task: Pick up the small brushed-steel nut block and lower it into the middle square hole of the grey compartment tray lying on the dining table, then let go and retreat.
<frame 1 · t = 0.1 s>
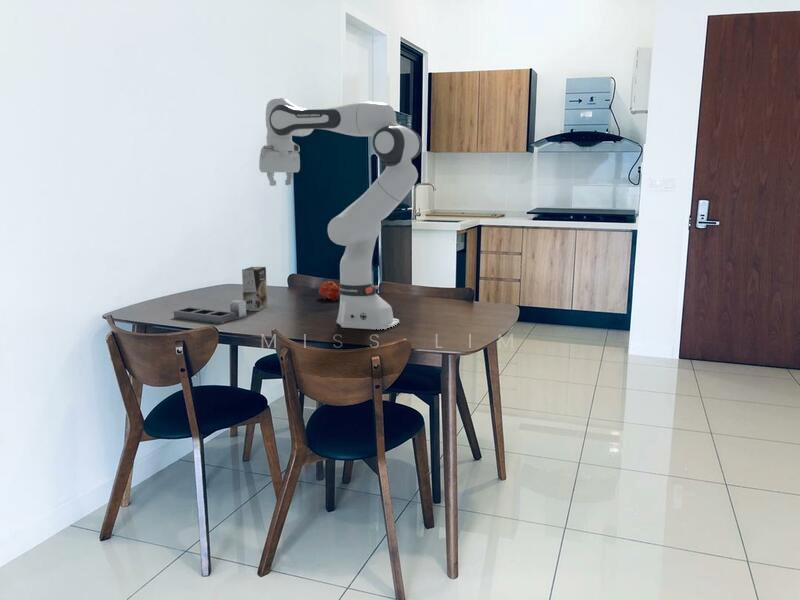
hand: (280, 185, 232), 48 cm above the table, tool pointing down, fingers open, 8 cm apart
grey compartment tray: (204, 318, 234), on the table
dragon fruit: (331, 299, 269), on the table
coffee box: (255, 309, 251), on the table
nut block: (238, 316, 237), on the table
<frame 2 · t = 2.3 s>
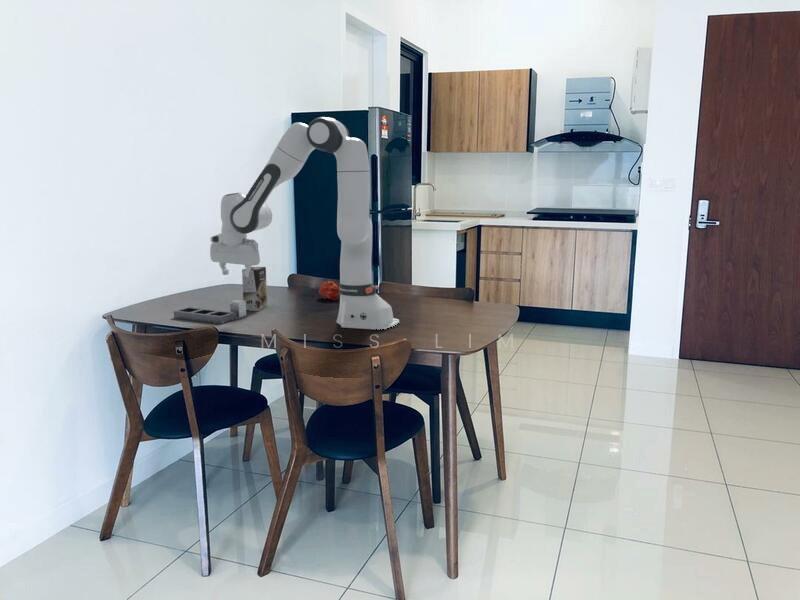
hand: (235, 275, 234), 15 cm above the table, tool pointing down, fingers open, 8 cm apart
nothing on the table moved.
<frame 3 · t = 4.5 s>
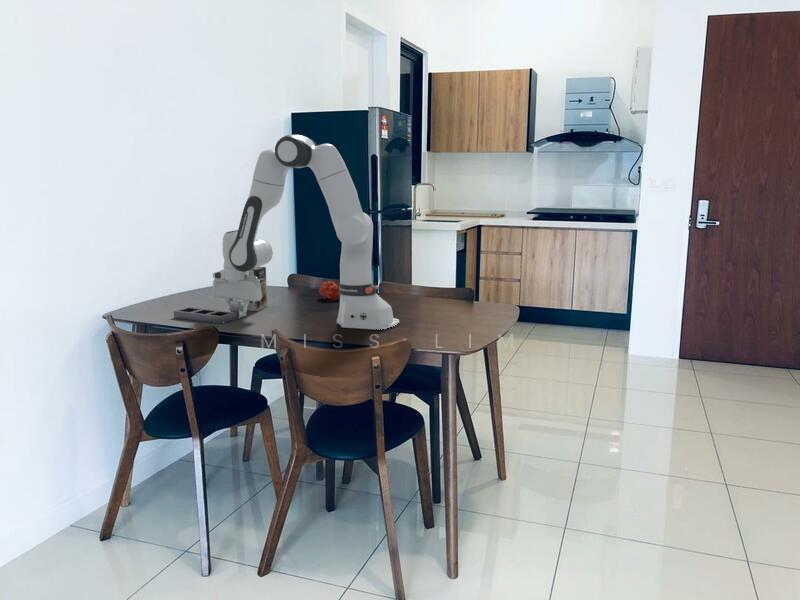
hand: (238, 310, 237), 2 cm above the table, tool pointing down, fingers closed on nut block, 4 cm apart
nut block: (238, 316, 237), on the table, touching gripper
everything else where it was.
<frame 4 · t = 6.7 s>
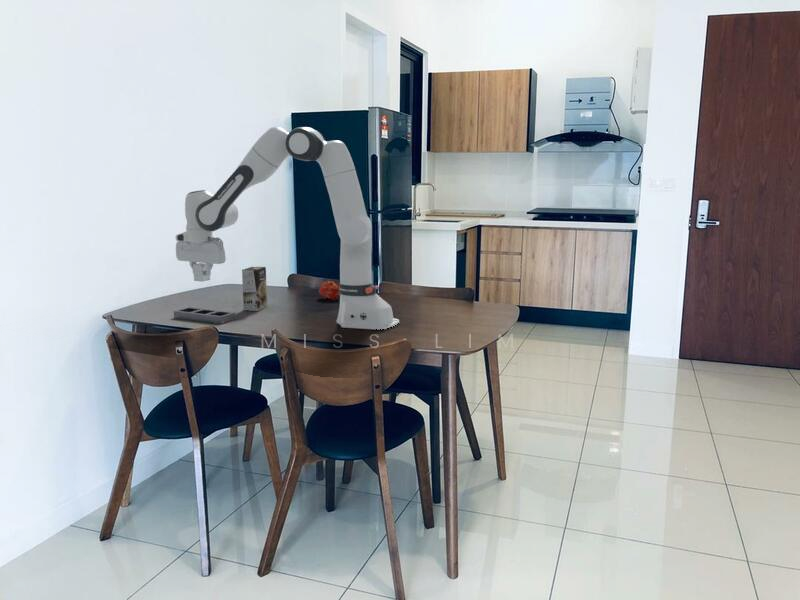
hand: (201, 274, 230), 16 cm above the table, tool pointing down, fingers closed on nut block, 4 cm apart
nut block: (202, 280, 231), point 14 cm above the table, touching gripper
everything else where it was.
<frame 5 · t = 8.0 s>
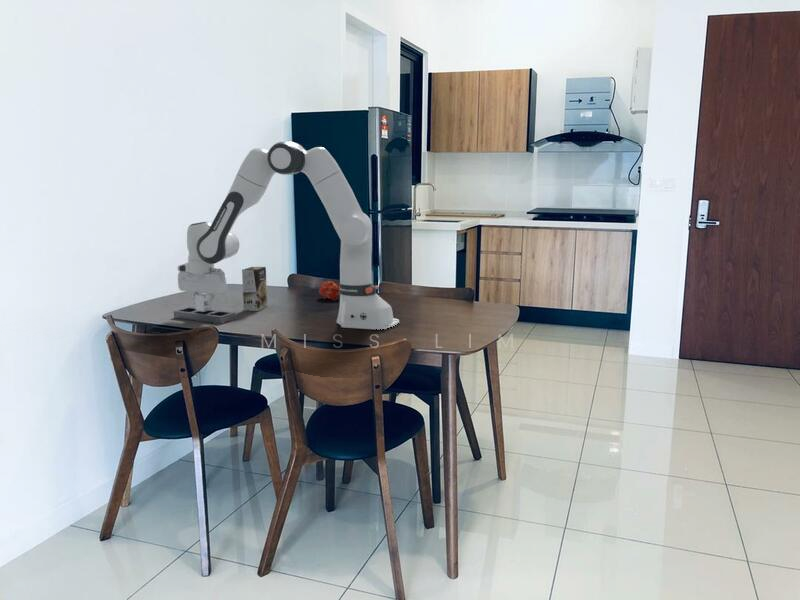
hand: (203, 304, 233), 5 cm above the table, tool pointing down, fingers closed on nut block, 4 cm apart
nut block: (204, 310, 233), point 3 cm above the table, touching gripper
everything else where it was.
when the fingers open (4 cm above the table, at t = 9.0 s): nut block drops 1 cm, resting in grey compartment tray.
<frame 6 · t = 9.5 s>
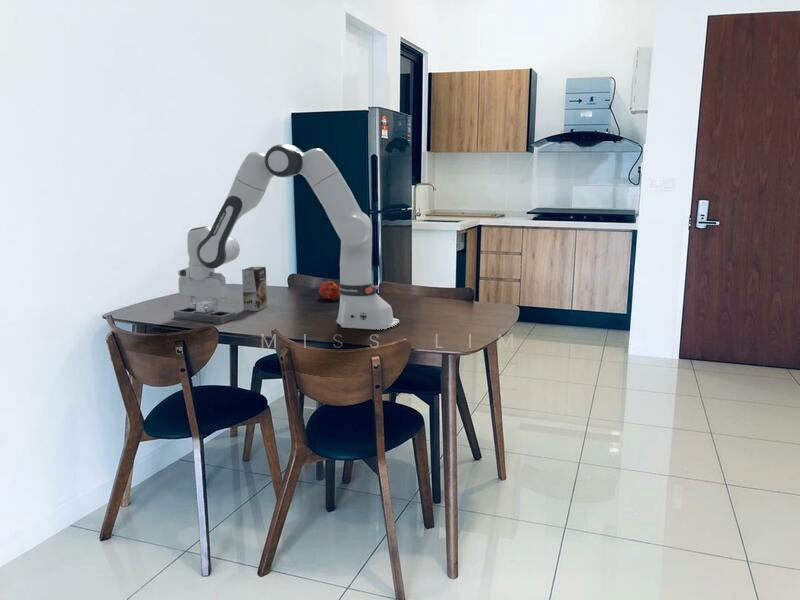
hand: (204, 309, 233), 4 cm above the table, tool pointing down, fingers open, 8 cm apart
nut block: (205, 318, 234), resting in grey compartment tray
everything else where it was.
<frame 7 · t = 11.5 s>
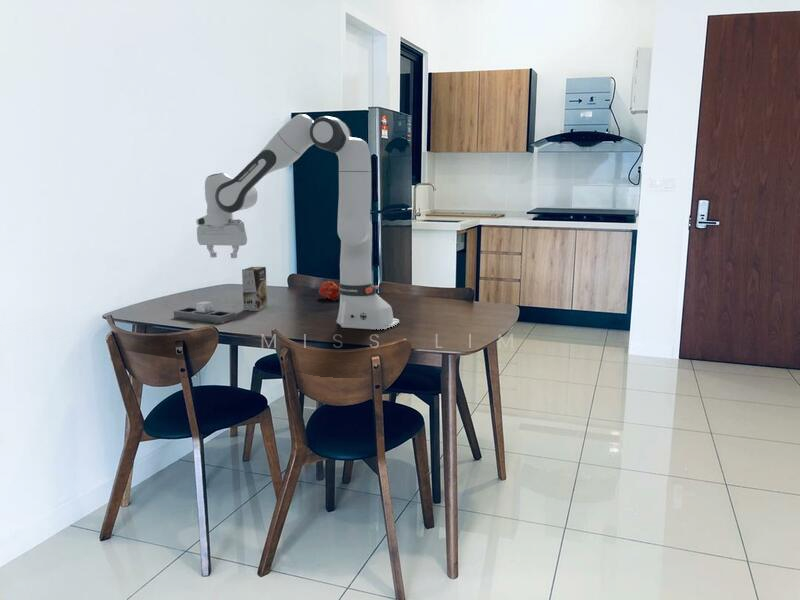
hand: (223, 257, 232), 22 cm above the table, tool pointing down, fingers open, 8 cm apart
nothing on the table moved.
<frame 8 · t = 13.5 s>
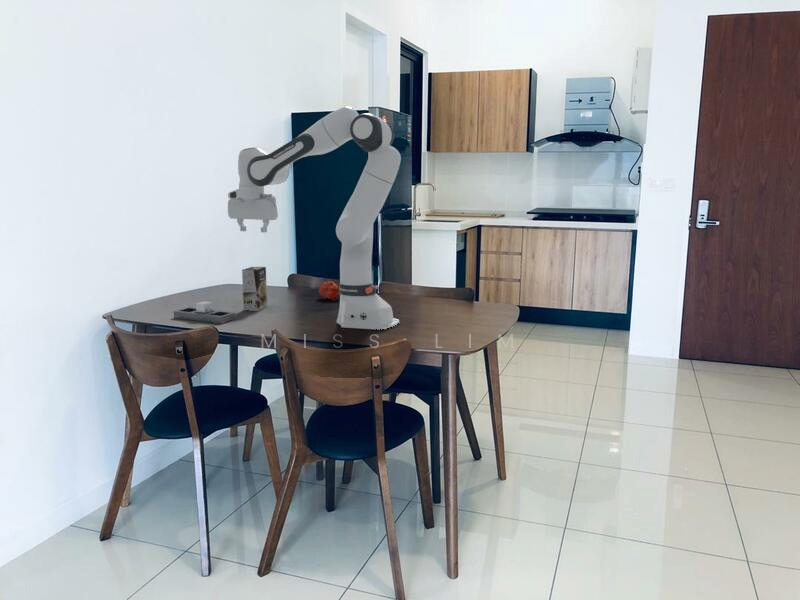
hand: (253, 231, 234), 31 cm above the table, tool pointing down, fingers open, 8 cm apart
nothing on the table moved.
at the end: nut block 0.1 cm off-centre on the grey compartment tray, point 0.0 cm above the grey compartment tray's base; the gripper is holding nothing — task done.
